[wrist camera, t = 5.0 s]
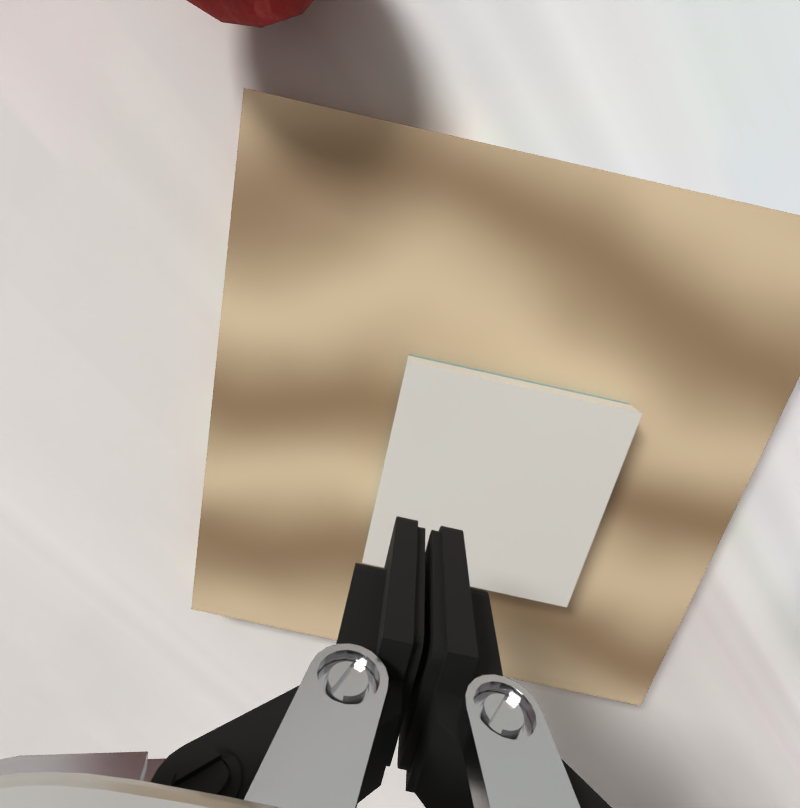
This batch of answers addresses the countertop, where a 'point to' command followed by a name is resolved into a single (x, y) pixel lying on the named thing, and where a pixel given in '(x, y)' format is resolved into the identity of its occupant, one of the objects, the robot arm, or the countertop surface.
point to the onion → (252, 10)
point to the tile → (502, 473)
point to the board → (483, 366)
